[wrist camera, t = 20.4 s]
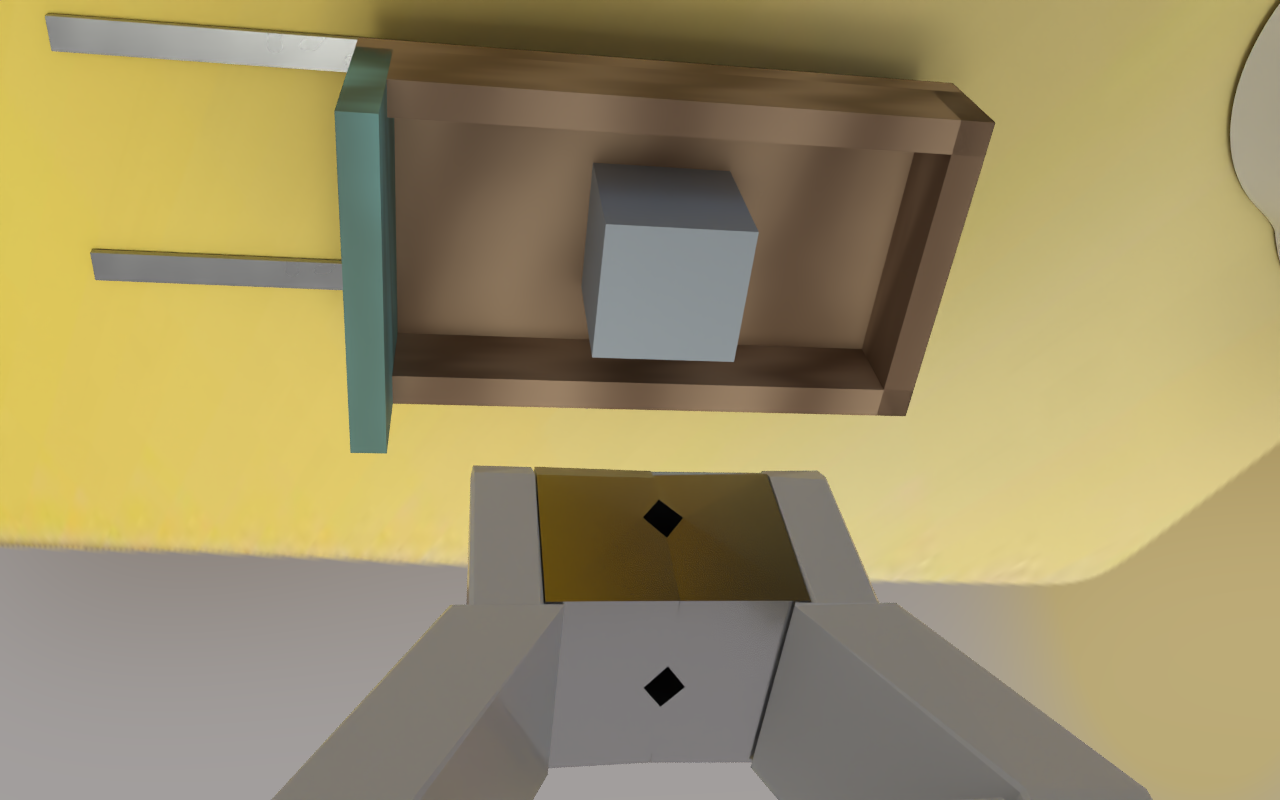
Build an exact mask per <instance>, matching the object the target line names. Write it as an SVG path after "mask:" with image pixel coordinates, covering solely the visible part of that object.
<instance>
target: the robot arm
mask: <svg viewBox="0 0 1280 800" xmlns="http://www.w3.org/2000/svg"><path fill="white" fill-rule="evenodd" d="M1230 143H1231V153H1232V159H1233V164H1234V168H1235V171H1236V174H1237V177H1238V179H1239V181H1240V184H1241V186H1242V188H1243V189H1244V191H1245V193H1246V194H1247V196H1248V197H1249V198H1250V200H1251V201H1252V202H1253V203H1254V204H1255V206H1256V207H1257V208H1258V209H1259V210H1260V211H1261V212H1262V213H1263V214H1264V215H1265V216H1266V217H1267V219H1268V220H1269V221H1270V223H1271V224H1272V226H1273V228H1274V230H1275V237H1276V244H1277V251H1278V256H1279V260H1280V4H1279V5H1278V7H1277V8H1276V9H1275V11H1274V12H1273V14H1272V15H1271V17H1270V18H1269V20H1268V21H1267V23H1266V25H1265V27H1264V28H1263V30H1262V32H1261V33H1260V35H1259V37H1258V39H1257V41H1256V43H1255V45H1254V46H1253V48H1252V51H1251V53H1250V55H1249V57H1248V59H1247V62H1246V64H1245V67H1244V69H1243V72H1242V75H1241V78H1240V81H1239V84H1238V87H1237V91H1236V95H1235V99H1234V104H1233V109H1232V116H1231V127H1230ZM648 762H752V764H751V768H752V769H753V770H754V772H755V773H756V774H757V775H758V776H759V778H760V779H761V780H762V781H763V782H764V783H765V785H766V786H767V787H768V788H769V789H770V791H771V792H772V793H773V794H774V795H775V796H776V798H777V799H778V800H1152V798H1151V796H1150V794H1149V793H1148V791H1147V789H1145V788H1144V787H1143V786H1141V785H1140V784H1139V783H1137V782H1136V781H1135V780H1133V779H1132V778H1130V777H1129V776H1128V775H1127V774H1125V773H1124V772H1123V771H1121V770H1120V769H1118V768H1117V767H1116V766H1114V765H1113V764H1112V763H1110V762H1109V761H1108V760H1106V759H1105V758H1104V757H1102V756H1101V755H1100V754H1098V753H1097V752H1096V751H1094V750H1093V749H1092V748H1090V747H1089V746H1088V745H1086V744H1085V743H1084V742H1082V741H1081V740H1079V739H1078V738H1077V737H1076V736H1074V735H1073V734H1071V733H1070V732H1069V731H1067V730H1066V729H1065V728H1064V727H1062V726H1061V725H1059V724H1058V723H1057V722H1055V721H1054V720H1053V719H1051V718H1050V717H1049V716H1047V715H1046V714H1045V713H1043V712H1042V711H1041V710H1039V709H1038V708H1037V707H1035V706H1034V705H1032V704H1031V703H1030V702H1029V701H1027V700H1026V699H1025V698H1023V697H1022V696H1020V695H1019V694H1018V693H1016V692H1015V691H1014V690H1012V689H1011V688H1010V687H1008V686H1007V685H1006V684H1004V683H1003V682H1002V681H1000V680H999V679H998V678H996V677H995V676H993V675H992V674H991V673H990V672H988V671H987V670H986V669H984V668H983V667H981V666H980V665H979V664H977V663H976V662H975V661H973V660H972V659H971V658H969V657H968V656H967V655H965V654H964V653H963V652H961V651H960V650H959V649H957V648H956V647H955V646H953V645H952V644H951V643H949V642H948V641H947V640H945V639H944V638H943V637H941V636H940V635H938V634H937V633H936V632H934V631H933V630H932V629H930V628H929V627H928V626H926V625H925V624H924V623H922V622H921V621H920V620H918V619H917V618H915V617H914V616H913V615H912V614H910V613H909V612H908V611H906V610H905V609H903V608H902V607H901V606H900V605H898V604H897V603H879V601H878V599H877V596H876V594H875V592H874V590H873V587H872V585H871V582H870V580H869V578H868V575H867V573H866V571H865V568H864V566H863V564H862V561H861V559H860V557H859V554H858V552H857V550H856V547H855V545H854V542H853V540H852V538H851V535H850V533H849V531H848V528H847V526H846V524H845V521H844V519H843V517H842V514H841V512H840V510H839V507H838V505H837V503H836V500H835V498H834V496H833V493H832V491H831V489H830V486H829V484H828V482H827V479H826V477H825V476H823V475H822V474H821V473H820V472H818V471H762V472H761V473H707V472H651V471H632V470H606V469H579V468H552V467H534V472H533V470H532V468H531V467H506V466H473V468H472V473H471V485H470V514H469V543H468V573H467V603H466V605H450V606H449V607H448V608H447V609H446V610H445V611H444V613H443V614H442V615H441V616H440V617H439V618H438V619H437V620H436V621H435V622H434V623H433V625H432V626H431V627H430V628H429V629H428V630H427V631H426V632H425V633H424V634H423V635H422V637H421V638H420V639H419V640H418V641H417V642H416V643H415V644H414V645H413V646H412V647H411V649H410V650H409V651H408V652H407V653H406V654H405V655H404V656H403V657H402V658H401V659H400V660H399V662H398V663H397V664H396V665H395V666H394V667H393V668H392V669H391V670H390V671H389V672H388V673H387V675H386V676H385V677H384V678H383V679H382V680H381V681H380V682H379V683H378V685H377V686H376V687H375V688H374V689H373V690H372V691H371V692H370V693H369V694H368V695H367V696H366V697H365V699H364V700H363V701H362V702H361V703H360V704H359V705H358V706H357V707H356V708H355V709H354V711H353V712H352V713H351V714H350V715H349V716H348V717H347V718H346V719H345V720H344V721H343V722H342V724H341V725H340V726H339V727H338V728H337V729H336V730H335V731H334V732H333V733H332V734H331V736H330V737H329V738H328V739H327V740H326V741H325V742H324V743H323V745H321V747H320V748H319V749H318V750H317V751H316V752H315V753H314V754H313V755H312V756H311V757H310V758H309V760H308V761H307V762H306V763H305V764H304V765H303V766H302V767H301V768H300V769H299V770H298V772H297V773H296V774H295V775H294V776H293V777H292V778H291V779H290V780H289V781H288V783H286V785H285V786H284V787H283V788H282V789H281V790H280V791H279V792H278V793H277V794H276V795H275V797H274V798H273V799H272V800H533V799H534V797H535V795H536V794H537V792H538V790H539V789H540V787H541V785H542V783H543V781H544V780H545V778H546V776H547V775H548V768H559V767H577V766H595V765H612V764H628V763H629V764H630V763H648Z"/></svg>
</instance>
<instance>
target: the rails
mask: <svg viewBox="0 0 1280 800" xmlns="http://www.w3.org/2000/svg"><path fill="white" fill-rule="evenodd" d="M45 19H46V24H47V29H48V34H49V40H50V45H51V50H52V51H60V52H74V53H87V54H101V55H115V56H129V57H143V58H157V59H170V60H184V61H198V62H212V63H226V64H240V65H253V66H267V67H281V68H295V69H309V70H323V71H336V72H347V71H348V68H349V65H350V62H351V58H352V55H353V52H354V49H355V46H356V43H357V40H358V37H348V36H335V35H322V34H310V33H297V32H284V31H271V30H258V29H245V28H232V27H219V26H206V25H193V24H180V23H168V22H155V21H142V20H129V19H116V18H103V17H90V16H77V15H64V14H51V13H47V14H46V15H45ZM90 254H91V259H92V264H93V270H94V275H95V280H107V281H132V282H156V283H181V284H205V285H230V286H254V287H279V288H303V289H328V290H343V280H342V260H322V259H300V258H278V257H256V256H234V255H212V254H189V253H167V252H145V251H123V250H101V249H92V251H91V252H90Z"/></svg>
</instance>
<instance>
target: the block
mask: <svg viewBox="0 0 1280 800" xmlns="http://www.w3.org/2000/svg"><path fill="white" fill-rule="evenodd" d="M758 234H759V232H758V229H757V227H756V225H755V223H754V221H753V219H752V217H751V214H750V212H749V210H748V208H747V206H746V204H745V202H744V200H743V197H742V195H741V193H740V191H739V189H738V187H737V185H736V183H735V180H734V178H733V176H732V174H731V172H730V171H719V170H703V169H687V168H670V167H654V166H638V165H621V164H605V163H593V167H592V178H591V189H590V199H589V210H588V221H587V232H586V242H585V253H584V264H583V275H582V285H581V288H582V294H583V301H584V308H585V314H586V321H587V327H588V334H589V341H590V347H591V354H592V357H594V358H625V359H656V360H687V361H718V362H734V359H735V354H736V349H737V344H738V339H739V333H740V328H741V323H742V318H743V312H744V307H745V302H746V297H747V291H748V286H749V281H750V276H751V270H752V265H753V260H754V255H755V249H756V244H757V239H758Z"/></svg>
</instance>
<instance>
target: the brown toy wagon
mask: <svg viewBox="0 0 1280 800" xmlns="http://www.w3.org/2000/svg"><path fill="white" fill-rule="evenodd" d="M994 125H995V122H994V121H993V120H992V119H991V118H990V117H989V116H987V115H986V114H985V113H984V112H983V111H982V110H981V109H980V108H979V107H978V106H977V105H976V104H975V103H973V102H972V101H971V100H970V99H969V98H968V97H967V96H966V95H965V94H964V93H963V92H962V91H961V90H959V89H958V88H957V87H956V86H955V85H954V84H953V83H943V82H930V81H917V80H904V79H891V78H878V77H865V76H852V75H839V74H827V73H814V72H801V71H788V70H775V69H762V68H749V67H736V66H723V65H710V64H697V63H685V62H672V61H659V60H646V59H633V58H620V57H607V56H594V55H581V54H568V53H555V52H542V51H530V50H517V49H504V48H491V47H478V46H465V45H452V44H439V43H426V42H413V41H400V40H388V39H375V38H362V37H358V40H357V43H356V46H355V49H354V52H353V55H352V58H351V62H350V65H349V68H348V71H347V74H346V77H345V80H344V83H343V86H342V89H341V93H340V96H339V99H338V102H337V105H336V108H335V131H336V152H337V174H338V195H339V216H340V238H341V259H342V280H343V301H344V323H345V344H346V365H347V386H348V408H349V429H350V450H351V453H387V446H388V438H389V430H390V421H391V413H392V405H393V403H395V404H436V405H477V406H517V407H558V408H598V409H639V410H680V411H720V412H761V413H801V414H842V415H883V416H906V413H907V410H908V406H909V403H910V400H911V396H912V393H913V390H914V387H915V383H916V380H917V377H918V374H919V370H920V367H921V364H922V361H923V357H924V354H925V351H926V347H927V344H928V341H929V338H930V334H931V331H932V328H933V325H934V321H935V318H936V315H937V312H938V308H939V305H940V302H941V298H942V295H943V292H944V289H945V285H946V282H947V279H948V276H949V272H950V269H951V266H952V263H953V259H954V256H955V253H956V249H957V246H958V243H959V240H960V236H961V233H962V230H963V227H964V223H965V220H966V217H967V214H968V210H969V207H970V204H971V200H972V197H973V194H974V191H975V187H976V184H977V181H978V178H979V174H980V171H981V168H982V165H983V161H984V158H985V155H986V151H987V148H988V145H989V142H990V138H991V135H992V132H993V129H994ZM593 163H605V164H621V165H638V166H654V167H670V168H687V169H703V170H719V171H730V172H731V174H732V176H733V178H734V180H735V183H736V185H737V187H738V189H739V191H740V193H741V195H742V197H743V200H744V202H745V204H746V206H747V208H748V210H749V212H750V214H751V217H752V219H753V221H754V223H755V225H756V227H757V229H758V232H759V234H758V239H757V244H756V249H755V255H754V260H753V265H752V270H751V276H750V281H749V286H748V291H747V297H746V302H745V307H744V312H743V318H742V323H741V328H740V333H739V339H738V344H737V349H736V354H735V359H734V362H718V361H687V360H656V359H625V358H594V357H592V354H591V347H590V341H589V334H588V327H587V321H586V314H585V308H584V301H583V294H582V288H581V285H582V275H583V264H584V253H585V242H586V232H587V221H588V210H589V199H590V189H591V178H592V167H593Z"/></svg>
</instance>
